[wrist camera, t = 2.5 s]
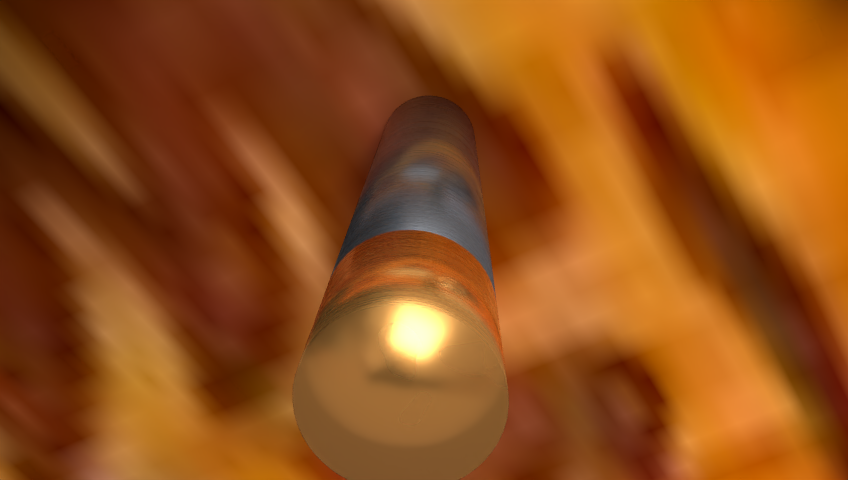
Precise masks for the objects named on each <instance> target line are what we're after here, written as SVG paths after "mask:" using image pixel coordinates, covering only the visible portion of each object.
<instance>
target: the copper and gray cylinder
mask: <svg viewBox="0 0 848 480" xmlns="http://www.w3.org/2000/svg"><path fill="white" fill-rule="evenodd" d="M293 407H294V414H295V417H296V421H297V424H298V427H299V429H300V431H301V434H302V436H303V438H304V439H305V441H306V442H307V444H308V446H309V447H310V448H311V450H312V451H313V452H314V453H315V455H316V456H317V457H318V458H319V459H320V460H321V461H322V462H323V463H324V464H325V465H326V466H328V467H329V468H330V469H332V470H333V471H334V472H336V473H337V474H339V475H341V476H342V477H344V478H346V479H348V480H459V479H461V478H463V477H464V476H466V475H467V474H469V473H470V472H472V471H473V470H475V469H476V468H477V467H478V466H479V465H480V464H481V463H482V462H483V461H484V460H485V459H486V458H487V457H488V456H489V454H490V453H491V452H492V451H493V449H494V448H495V446H496V444H497V443H498V441H499V439H500V437H501V435H502V433H503V430H504V427H505V424H506V420H507V415H508V407H509V401H508V387H507V380H506V372H505V364H504V357H503V349H502V341H501V334H500V326H499V318H498V311H497V303H496V295H495V288H494V280H493V272H492V265H491V257H490V250H489V242H488V234H487V227H486V219H485V211H484V204H483V196H482V188H481V181H480V173H479V165H478V158H477V150H476V142H475V135H474V130H473V127H472V124H471V122H470V120H469V118H468V116H467V115H466V114H465V112H464V111H463V110H462V109H461V108H460V107H459V106H458V105H456V104H455V103H453V102H451V101H449V100H447V99H445V98H442V97H437V96H421V97H416V98H413V99H411V100H408V101H406V102H405V103H403V104H402V105H400V106H399V107H398V108H397V109H396V110H395V111H394V112H393V114H392V115H391V117H390V118H389V120H388V122H387V124H386V127H385V130H384V132H383V135H382V138H381V141H380V143H379V146H378V149H377V152H376V154H375V157H374V160H373V163H372V165H371V168H370V171H369V174H368V176H367V179H366V182H365V185H364V187H363V190H362V193H361V196H360V198H359V201H358V204H357V206H356V209H355V212H354V215H353V217H352V220H351V223H350V226H349V228H348V231H347V234H346V237H345V239H344V242H343V245H342V248H341V250H340V253H339V256H338V259H337V261H336V264H335V267H334V270H333V272H332V275H331V278H330V281H329V283H328V286H327V289H326V292H325V294H324V297H323V300H322V303H321V305H320V308H319V311H318V314H317V316H316V319H315V322H314V324H313V327H312V330H311V333H310V335H309V338H308V341H307V344H306V346H305V349H304V352H303V355H302V357H301V360H300V363H299V366H298V369H297V372H296V375H295V379H294V385H293Z"/></svg>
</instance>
